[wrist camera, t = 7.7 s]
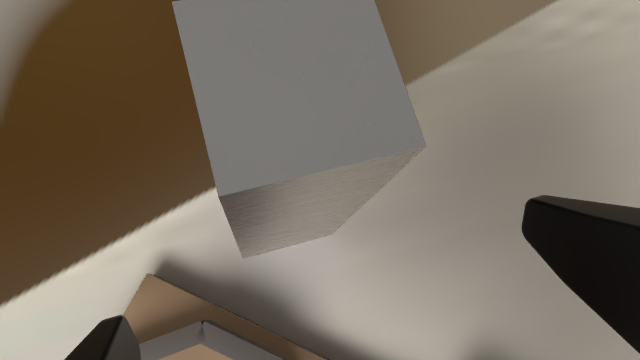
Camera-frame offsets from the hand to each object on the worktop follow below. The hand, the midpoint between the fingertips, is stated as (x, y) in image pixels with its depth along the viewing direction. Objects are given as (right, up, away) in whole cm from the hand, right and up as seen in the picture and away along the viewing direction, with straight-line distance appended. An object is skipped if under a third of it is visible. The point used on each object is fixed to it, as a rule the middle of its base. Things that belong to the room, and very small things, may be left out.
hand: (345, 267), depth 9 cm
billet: (-3, +1, +12) cm, 13 cm away
